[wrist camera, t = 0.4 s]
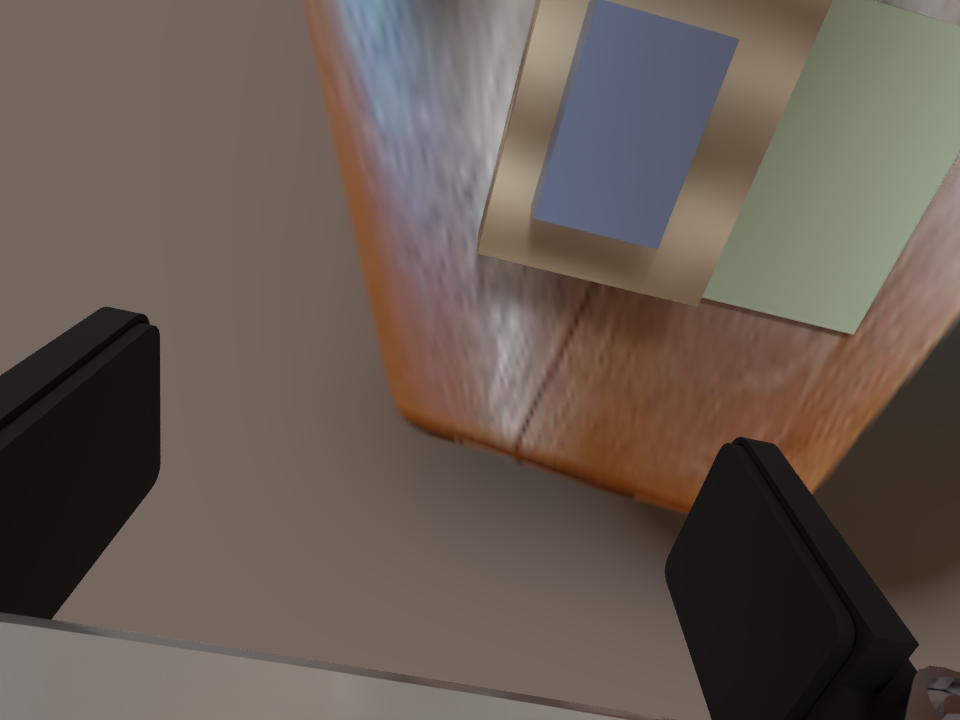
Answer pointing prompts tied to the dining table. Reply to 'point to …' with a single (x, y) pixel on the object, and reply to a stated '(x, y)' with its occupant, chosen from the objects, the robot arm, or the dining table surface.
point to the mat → (847, 168)
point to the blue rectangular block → (629, 122)
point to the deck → (714, 169)
